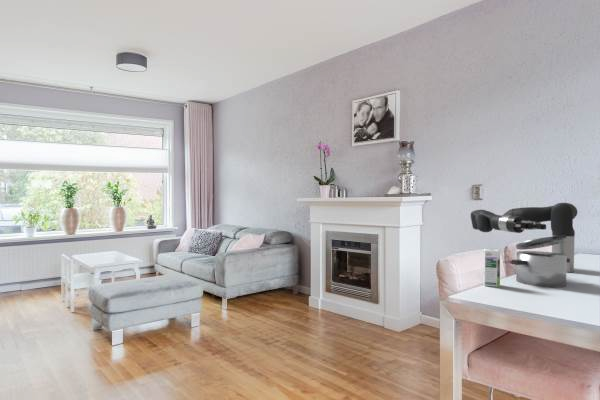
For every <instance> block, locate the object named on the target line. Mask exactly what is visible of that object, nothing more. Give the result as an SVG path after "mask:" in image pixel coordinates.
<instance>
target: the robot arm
mask: <svg viewBox="0 0 600 400" xmlns="http://www.w3.org/2000/svg"><path fill="white" fill-rule="evenodd" d="M577 216H578V209H577V207H576V206H575V205H573V204H572V203H569V202H558V203H556V204H554V205H549V206H542V207H540V206H539V207H536V206H535V207H534V206H532V207H531V206H530V207H529V206H528V207H517V208H511V209H509V210H507V211H506V212H504V213H503V215H499V214H495V213H494V212H491V211H489V210H485V209H475V210H472V211H471V212H470V220H471V226H472V229H474V230H478V231H479V232H482V233H490V232H492V231H493V230H496V231H503V232H507V233H515V234H521V233H523V232H524V231H525V230H528V231H529V230H547V224H546V223H545V222H550V230H551V237H553V236H557V235H566V238H564V240H565V241H564V242H561V243H559V244H555V245H551V252H552V253H559V254H564V255H566V256H567V258H569V259H570V262H567V270H566V273H574V271H575V234H576V233H575V229H574V225H573V223H574V222H573V221H574V219H576V217H577ZM543 222H544V223H543Z"/></svg>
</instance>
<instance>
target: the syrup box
mask: <svg viewBox="0 0 600 400" xmlns="http://www.w3.org/2000/svg"><path fill="white" fill-rule="evenodd" d="M483 286H484V287H494V288H500V287H501V250H500V249H494V248H492V249H491V248H484V249H483Z"/></svg>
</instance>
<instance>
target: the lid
mask: <svg viewBox="0 0 600 400" xmlns="http://www.w3.org/2000/svg"><path fill="white" fill-rule="evenodd" d="M564 238H566V235H557V236H553V237H552V236H547V237H540V238H534V239H530V240H525V241H522V242H519V243H516V244H515V248H516V250H519V251H524V250H532V249H534V250H535V249H540V248H541V249H542V248H545V247H546V248H547V247H552V245H555V244H559V243H561V242H564V241H565V240H564Z"/></svg>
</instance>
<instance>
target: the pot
mask: <svg viewBox="0 0 600 400" xmlns="http://www.w3.org/2000/svg"><path fill="white" fill-rule="evenodd" d="M567 262H570V259H569V258H567V256H566V255H564V254H559V253H552V251H551V252H550V251H540V250H539V251H538V250H537V251H535V250H519V251H516V259H511V261H510V263H511V264H512V265H515V266H516V269H515V270H516V273H515V274H516V275H515V276H516V277H515V278H516V279H515V280H516V282H518V283H520V284H523V285H527V284H528V285H527V286H534V287H540V288H541V287H542V288H564V287H567V272H566V270H567Z"/></svg>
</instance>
